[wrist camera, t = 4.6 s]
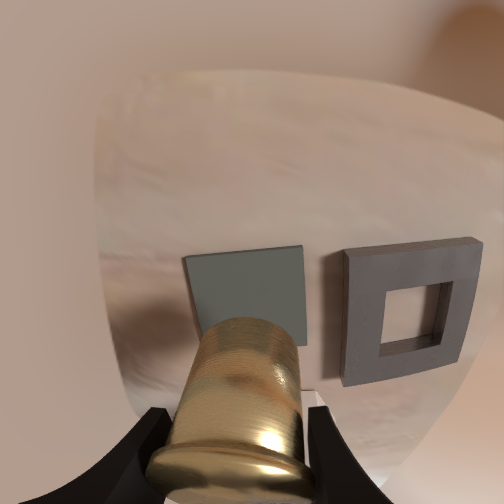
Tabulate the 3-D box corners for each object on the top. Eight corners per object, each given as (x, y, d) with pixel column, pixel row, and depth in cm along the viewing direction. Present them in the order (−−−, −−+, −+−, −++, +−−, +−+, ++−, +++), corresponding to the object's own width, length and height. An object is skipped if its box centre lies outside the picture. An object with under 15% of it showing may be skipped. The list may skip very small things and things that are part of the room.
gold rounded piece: (307, 389, 14) (315, 515, 7) (208, 395, 14) (179, 511, 8) (300, 304, 12) (316, 458, 5) (179, 315, 12) (115, 448, 6)
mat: (306, 342, 20) (307, 345, 19) (207, 348, 20) (206, 351, 20) (302, 245, 17) (302, 247, 17) (187, 255, 18) (185, 258, 18)
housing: (449, 351, 20) (457, 361, 18) (339, 374, 20) (343, 387, 19) (471, 236, 16) (483, 242, 15) (343, 249, 17) (349, 257, 16)
